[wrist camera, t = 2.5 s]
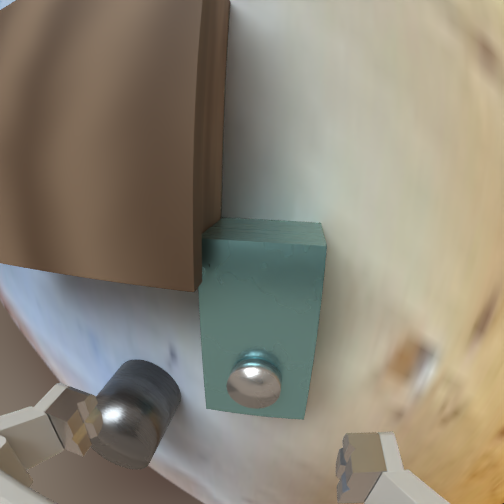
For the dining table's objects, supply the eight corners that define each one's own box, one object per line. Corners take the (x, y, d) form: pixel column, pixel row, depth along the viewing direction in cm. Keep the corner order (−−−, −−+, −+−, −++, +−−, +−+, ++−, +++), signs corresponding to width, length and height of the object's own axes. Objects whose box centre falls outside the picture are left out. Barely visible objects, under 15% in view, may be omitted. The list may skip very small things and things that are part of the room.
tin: (177, 367, 20) (141, 429, 14) (183, 418, 22) (155, 477, 16) (113, 353, 21) (67, 404, 15) (125, 403, 22) (90, 454, 16)
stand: (239, -6, 13) (210, -67, 7) (229, 246, 17) (194, 292, 11) (42, 38, 15) (-19, 22, 9) (37, 232, 19) (-26, 257, 13)
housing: (320, 222, 16) (328, 252, 11) (305, 368, 19) (303, 430, 14) (223, 217, 17) (190, 243, 12) (225, 360, 20) (202, 418, 14)
